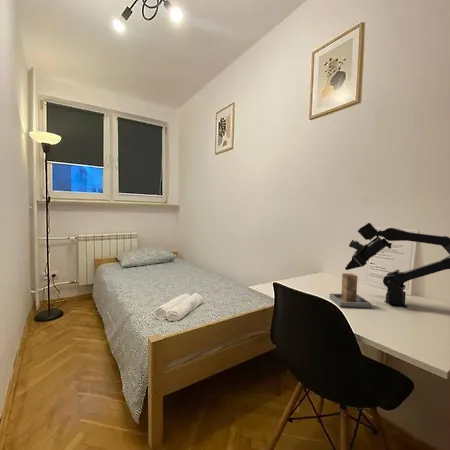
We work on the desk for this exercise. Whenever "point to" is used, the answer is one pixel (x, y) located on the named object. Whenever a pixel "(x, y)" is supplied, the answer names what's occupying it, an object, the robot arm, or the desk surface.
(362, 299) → the tray
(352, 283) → the block
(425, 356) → the desk surface
